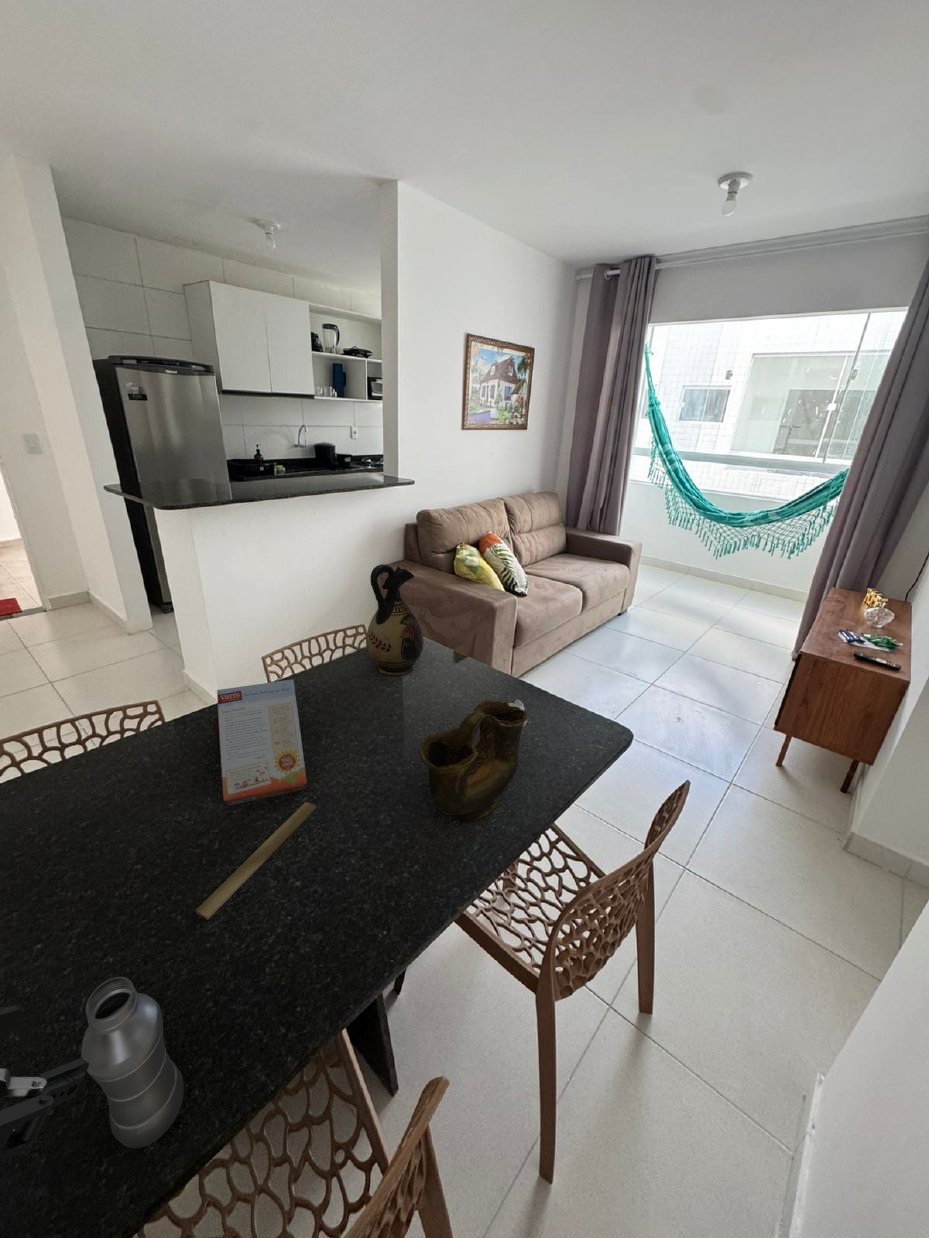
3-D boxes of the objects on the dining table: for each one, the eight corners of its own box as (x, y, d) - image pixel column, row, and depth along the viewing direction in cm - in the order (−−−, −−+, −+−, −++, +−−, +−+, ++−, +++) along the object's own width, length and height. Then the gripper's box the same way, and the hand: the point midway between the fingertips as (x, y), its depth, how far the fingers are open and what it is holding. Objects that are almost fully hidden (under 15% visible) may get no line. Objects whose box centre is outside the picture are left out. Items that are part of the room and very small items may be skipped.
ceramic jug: (402, 649, 152) (402, 552, 140) (433, 670, 141) (437, 567, 129) (351, 665, 142) (346, 561, 130) (380, 689, 131) (379, 579, 119)
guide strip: (195, 913, 74) (195, 910, 73) (306, 803, 94) (305, 801, 94) (208, 919, 73) (207, 917, 73) (316, 808, 93) (316, 805, 93)
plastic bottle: (178, 1061, 58) (143, 945, 50) (195, 1122, 53) (159, 1006, 45) (111, 1106, 54) (61, 988, 46) (122, 1177, 49) (68, 1060, 41)
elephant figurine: (519, 738, 115) (521, 716, 113) (488, 726, 119) (490, 704, 117) (531, 724, 121) (534, 703, 118) (501, 713, 124) (504, 692, 122)
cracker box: (306, 790, 98) (294, 688, 106) (307, 784, 93) (294, 677, 101) (226, 807, 93) (220, 698, 101) (222, 801, 88) (216, 687, 96)
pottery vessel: (448, 859, 85) (453, 763, 77) (402, 824, 91) (403, 732, 83) (531, 782, 102) (542, 698, 94) (488, 757, 109) (495, 677, 101)
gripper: (-140, 1144, 25) (132, 1036, 39) (-261, 1006, 30) (19, 955, 44) (-256, 1348, 23) (77, 1155, 37) (-366, 1162, 28) (-35, 1055, 42)
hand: (46, 1046), depth 41 cm, fingers open, 8 cm apart
